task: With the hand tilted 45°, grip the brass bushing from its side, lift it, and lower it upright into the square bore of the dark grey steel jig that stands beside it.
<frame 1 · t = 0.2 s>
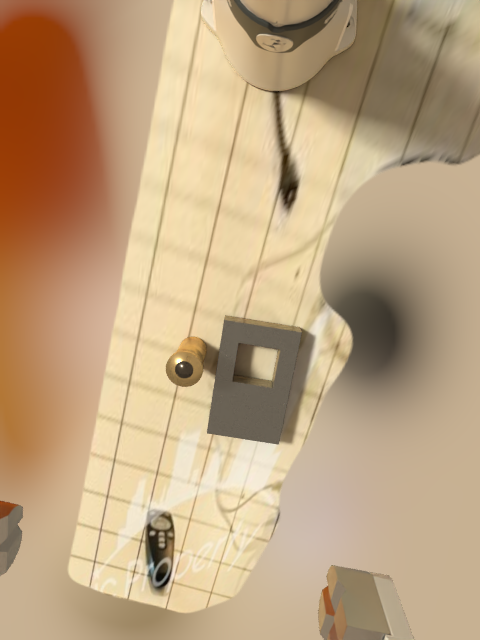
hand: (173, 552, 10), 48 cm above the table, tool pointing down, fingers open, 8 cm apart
jig: (252, 377, 60), on the table
bushing: (193, 349, 59), on the table
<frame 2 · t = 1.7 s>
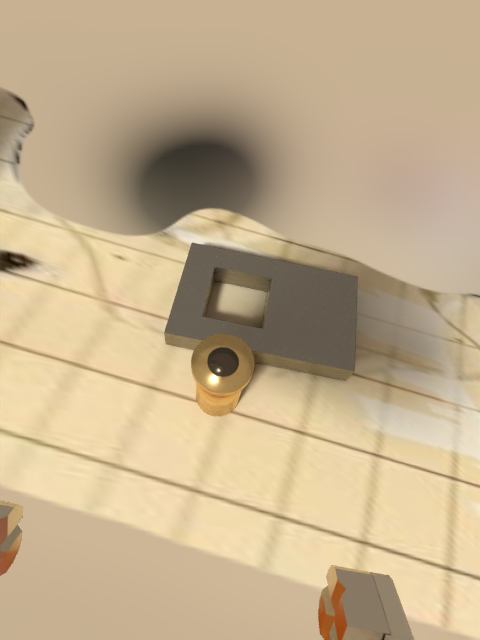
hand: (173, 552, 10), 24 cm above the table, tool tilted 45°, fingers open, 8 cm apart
jig: (263, 315, 42), on the table
bushing: (217, 395, 37), on the table
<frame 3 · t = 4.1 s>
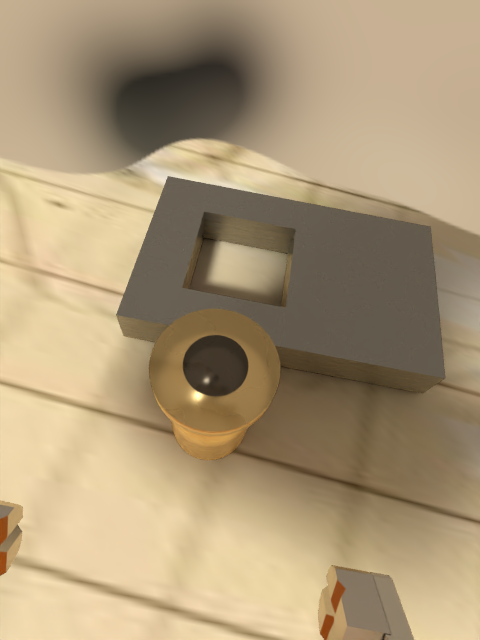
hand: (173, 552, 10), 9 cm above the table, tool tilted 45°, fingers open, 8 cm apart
jig: (283, 288, 26), on the table
bushing: (209, 421, 22), on the table
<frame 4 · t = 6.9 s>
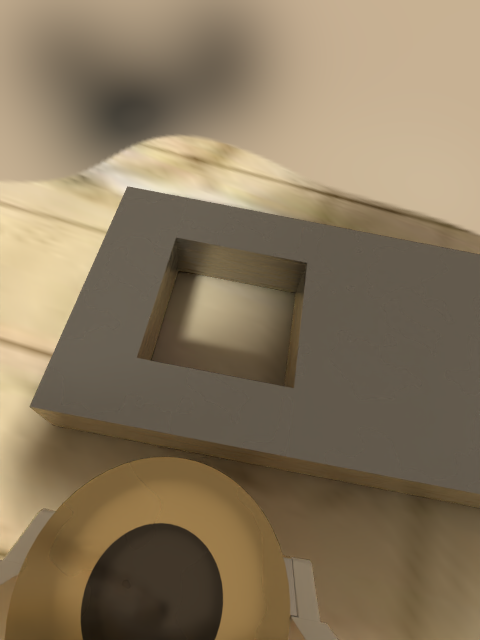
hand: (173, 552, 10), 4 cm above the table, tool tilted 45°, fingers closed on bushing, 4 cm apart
jig: (289, 345, 19), on the table
bushing: (175, 570, 14), on the table, touching gripper
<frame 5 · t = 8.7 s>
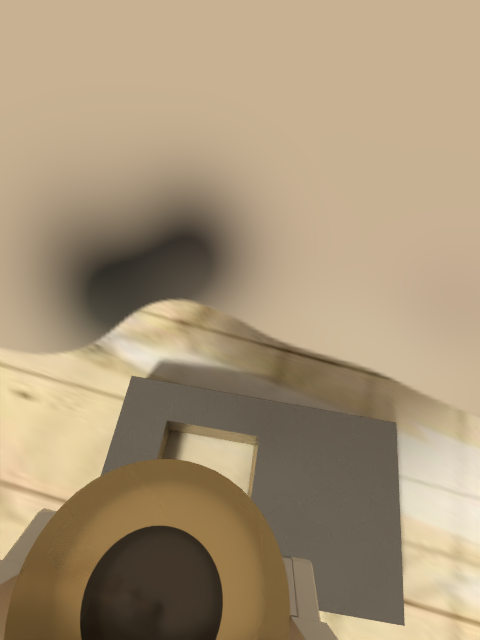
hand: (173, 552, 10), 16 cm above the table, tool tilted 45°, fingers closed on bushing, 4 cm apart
jig: (248, 491, 26), on the table
bushing: (175, 571, 14), point 12 cm above the table, touching gripper
when the fingers open (5 cm above the table, at t = 11.0 s): bushing stays where it is, resting in jig.
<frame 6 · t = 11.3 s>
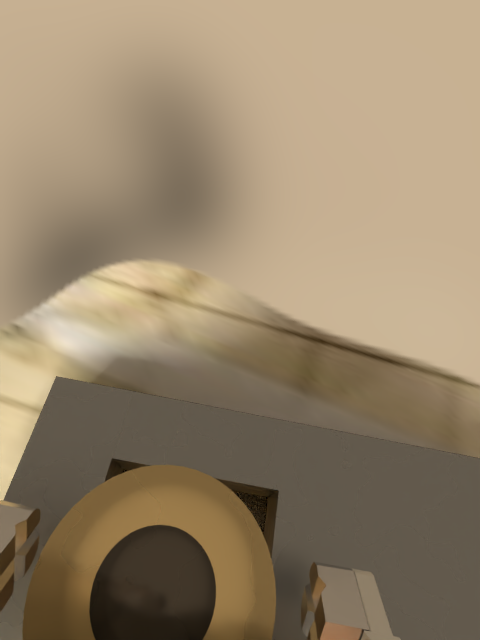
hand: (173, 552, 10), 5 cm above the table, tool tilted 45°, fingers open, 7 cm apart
jig: (257, 584, 15), on the table
bushing: (175, 568, 15), resting in jig
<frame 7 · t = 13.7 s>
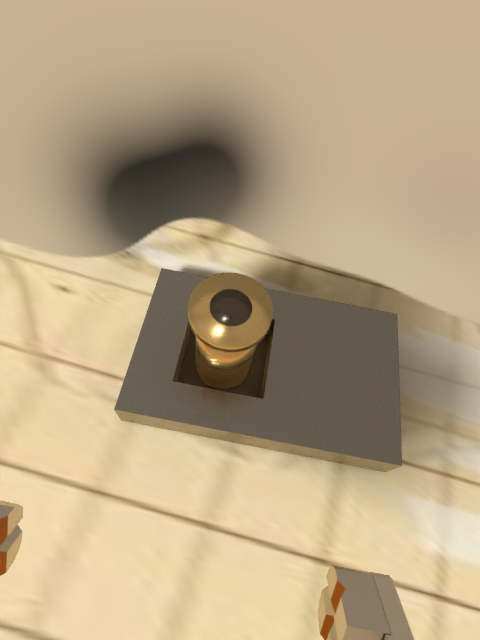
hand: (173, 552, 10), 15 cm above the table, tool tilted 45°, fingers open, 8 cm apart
jig: (264, 370, 29), on the table
bushing: (223, 363, 29), resting in jig
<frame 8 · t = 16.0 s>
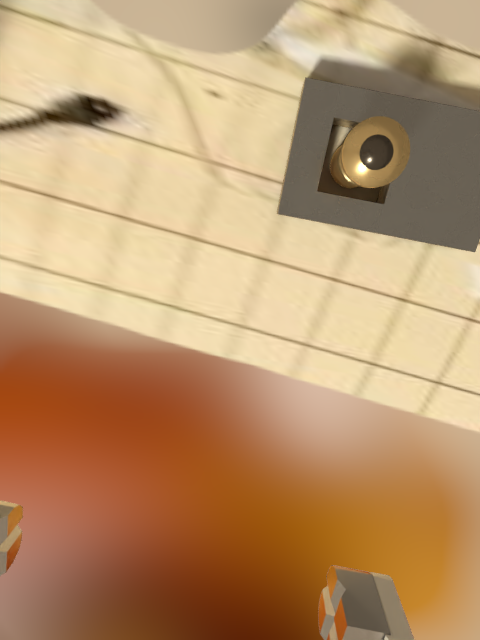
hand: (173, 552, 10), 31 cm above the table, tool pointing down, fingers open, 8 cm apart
jig: (385, 171, 36), on the table
bushing: (351, 165, 36), resting in jig
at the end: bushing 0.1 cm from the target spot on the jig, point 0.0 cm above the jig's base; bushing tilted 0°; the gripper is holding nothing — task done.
